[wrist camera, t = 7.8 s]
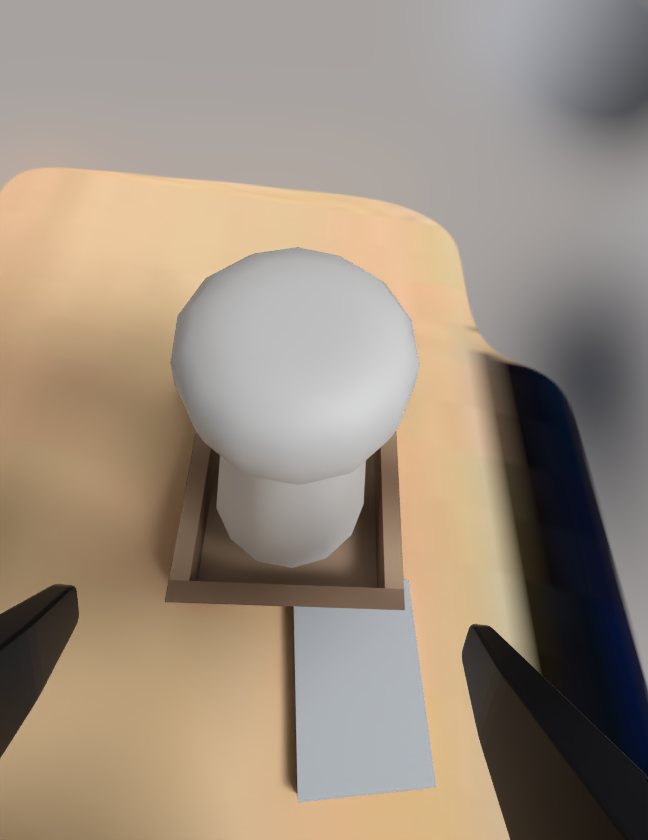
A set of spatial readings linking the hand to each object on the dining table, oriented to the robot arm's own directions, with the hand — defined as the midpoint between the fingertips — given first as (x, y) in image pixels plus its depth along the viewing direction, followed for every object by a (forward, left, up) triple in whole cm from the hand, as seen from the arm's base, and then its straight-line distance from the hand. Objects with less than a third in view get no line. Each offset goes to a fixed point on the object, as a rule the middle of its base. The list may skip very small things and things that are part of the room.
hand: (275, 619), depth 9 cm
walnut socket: (+5, 0, -9) cm, 10 cm away
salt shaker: (+4, 0, -8) cm, 9 cm away
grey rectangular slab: (-2, -3, -9) cm, 10 cm away
